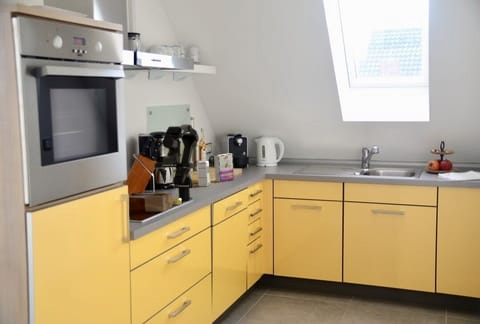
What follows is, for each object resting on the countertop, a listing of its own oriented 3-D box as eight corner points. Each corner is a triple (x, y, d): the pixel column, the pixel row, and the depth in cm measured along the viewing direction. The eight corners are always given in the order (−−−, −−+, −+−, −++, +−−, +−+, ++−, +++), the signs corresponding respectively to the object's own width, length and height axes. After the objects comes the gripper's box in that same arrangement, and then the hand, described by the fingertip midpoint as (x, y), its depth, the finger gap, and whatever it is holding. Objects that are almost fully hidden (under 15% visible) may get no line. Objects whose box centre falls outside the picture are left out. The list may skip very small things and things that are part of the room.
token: (174, 203, 296) (173, 197, 296) (183, 203, 295) (183, 197, 294) (170, 205, 291) (169, 199, 291) (179, 205, 290) (179, 199, 290)
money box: (155, 206, 290) (154, 192, 289) (172, 206, 287) (171, 192, 286) (145, 211, 279) (144, 196, 278) (163, 211, 277) (162, 196, 276)
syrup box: (207, 186, 347) (206, 161, 345) (198, 186, 348) (196, 161, 346) (210, 184, 352) (209, 160, 351) (200, 184, 353) (199, 160, 352)
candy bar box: (229, 179, 371) (227, 153, 369) (234, 180, 367) (233, 153, 365) (214, 181, 364) (213, 155, 362) (220, 182, 360) (218, 155, 358)
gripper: (150, 149, 286) (148, 181, 284) (186, 148, 281) (185, 181, 279) (159, 153, 297) (158, 184, 295) (194, 151, 292) (193, 183, 289)
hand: (173, 183), depth 289 cm, fingers open, 9 cm apart
